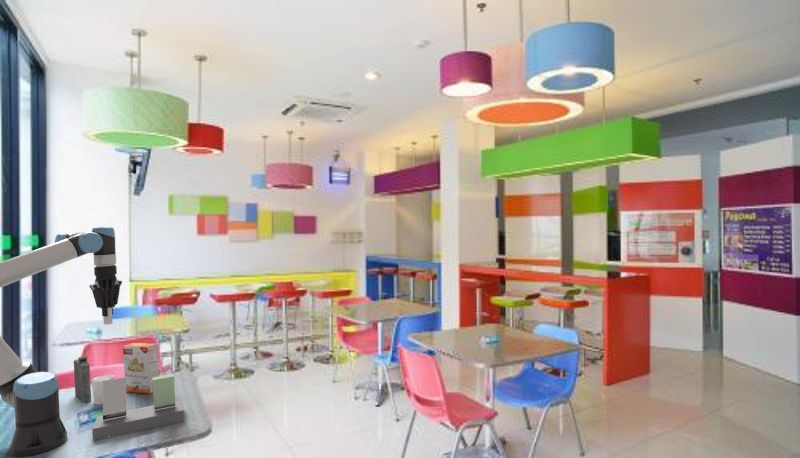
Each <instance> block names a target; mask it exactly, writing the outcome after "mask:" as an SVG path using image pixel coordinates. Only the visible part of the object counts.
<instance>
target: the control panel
mask: <svg viewBox="0 0 800 458" xmlns="http://www.w3.org/2000/svg"><path fill="white" fill-rule="evenodd" d="M184 421H185V417H184V403H183V399H180V400H179V399H178V400H175V406H172V407H167V408H162V409H157V410H154V404H153V405H150V406H145V407H139V408H134V409H128V410H126V416H122V417H117V418H112V419H107V420H103V414H102V415H97V416H96V419H95V421H94V424H93V426H92V432H91V433H92V441H93V440H94V441H98V440H97V439H99V440H102V439H101V438H103V439H106V438H105V437H108V436H113V435H117V436H121V435H120V434H122V435H126V434H125V433H127V434H131V433H134V431H136V432H140V431H145V430H148V429H149V430H150V429H155V428H158V427H162V426H163V427H164V426H169V425H172V424H177V423H182V422H184ZM130 432H131V433H130ZM113 437H114V436H113ZM108 438H109V437H108Z"/></svg>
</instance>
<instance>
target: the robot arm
mask: <svg viewBox="0 0 800 458" xmlns="http://www.w3.org/2000/svg"><path fill="white" fill-rule="evenodd" d="M115 233H116V232H115V229H114V227H112V226H98V227H93V228H92V229H91V231H85V232H65V233H58V234H57V235H55V239H54V242H53V243H51V244H47V245H45V246H42V247H40V248H37V249H35V250H31V251H28V252H24V253H22V254H20V255H18V256H14V257H11V258H9V259H6V260H3V261H0V289H1V288H3V287H6V286H8V285H11V284H13V283H16V282H19V281H20V280H23V279H25V278H29V277H31V276H33V275H36V274H38V273H40V272H44V271H46V270H49V269H51V268H53V267H56V266H58V265H61V264H63V263H66V262H68V261H71V260H74V259H77V258H80V257H82V256H85V255H87V254H93V265H94V268H93V272H94V276H95V280H94V283H92V284H90V285H89V288H90V289H91V290H90V291H92V296H93V299H94V303H95V304H96V305H95V306H96V308H99V309H101V316H102V317H103V325H112V324H113V323H114V322H113V315H114V308H115V307H116V305H118V303H119V298H120V297H119V295H120V289H121V285H122V284H123V280H119V279H117V276H116V275H117V273H118V272H117V265H116V264H117V254H116V234H115ZM58 379H59V378H58V376H57V374H56V373H54V372H51V371H38V370H37V369H36V368H35V367H34V366H33V364H32V363H31V362H30V361H23V360H21V359H20V357H19V356H18V355H17V354H16V352H14V350H13V349H12V348H11V346H10V345H9V344H7V342H6V341H5V339H4V338H3V337H2V336H1V335H0V397H1V399H2V400H3V401H4V403H6V404H8V405H10V406H11V407H12V408H13V409H14V420H15V421H14V424H15V429H14V433H13V435H12V438H11V442H10V445H9V455H10V456H11V457H15V456H24V457H29V455H31V456H34V455H39V454H42V453H45V452H48V451H51V450H53V449H55V448H58V447H59V446H61V445H63V444H64V443H65V442H66V441H67V440H68V431H67V429H66V427H65V425H64V423H63V421H62V419H61V417H60V416H61V415H60V413H61V412H60V397H59V396H60V393H59V391H60V390H59V385H60V383H59V380H58Z"/></svg>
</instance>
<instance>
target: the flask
mask: <svg viewBox="0 0 800 458" xmlns="http://www.w3.org/2000/svg"><path fill="white" fill-rule="evenodd" d="M90 368H91V367H90V362H89V361H88V356H87V355H82V356H79V357H78V359H74V360H73V375H74V376H73V377H74V392H75V393H74V394H75V397H76V398H79V399H80V400H82V403H85V404H86V403H87V404H88V403H91V401H92V384H91V369H90Z"/></svg>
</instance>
